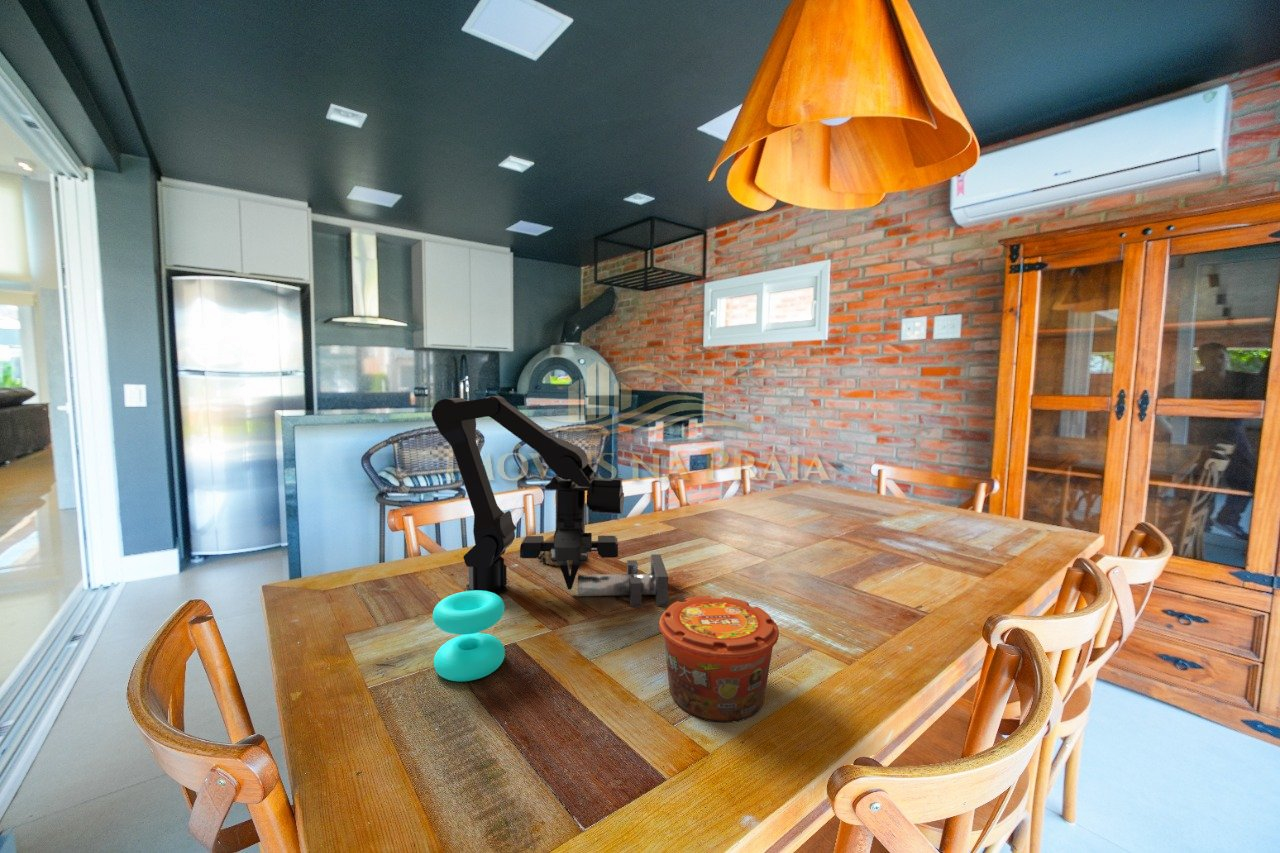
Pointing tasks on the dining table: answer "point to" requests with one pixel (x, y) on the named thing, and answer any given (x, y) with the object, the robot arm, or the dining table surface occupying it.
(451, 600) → the donuts
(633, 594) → the cradle collar
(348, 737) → the dining table surface
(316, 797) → the dining table surface
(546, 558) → the bread roll
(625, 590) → the tube
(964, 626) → the dining table surface
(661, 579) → the gray bridge arch
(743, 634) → the food container
